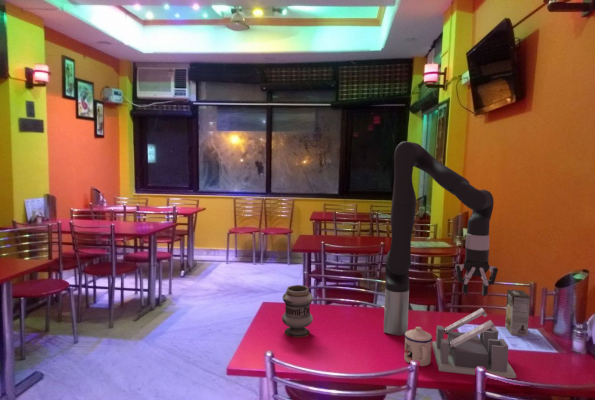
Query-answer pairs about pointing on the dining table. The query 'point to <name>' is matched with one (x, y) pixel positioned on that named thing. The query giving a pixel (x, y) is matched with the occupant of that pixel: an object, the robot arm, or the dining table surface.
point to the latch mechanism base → (473, 353)
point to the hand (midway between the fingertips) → (474, 294)
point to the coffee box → (517, 312)
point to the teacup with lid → (418, 346)
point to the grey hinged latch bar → (464, 320)
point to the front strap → (471, 334)
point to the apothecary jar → (297, 310)
